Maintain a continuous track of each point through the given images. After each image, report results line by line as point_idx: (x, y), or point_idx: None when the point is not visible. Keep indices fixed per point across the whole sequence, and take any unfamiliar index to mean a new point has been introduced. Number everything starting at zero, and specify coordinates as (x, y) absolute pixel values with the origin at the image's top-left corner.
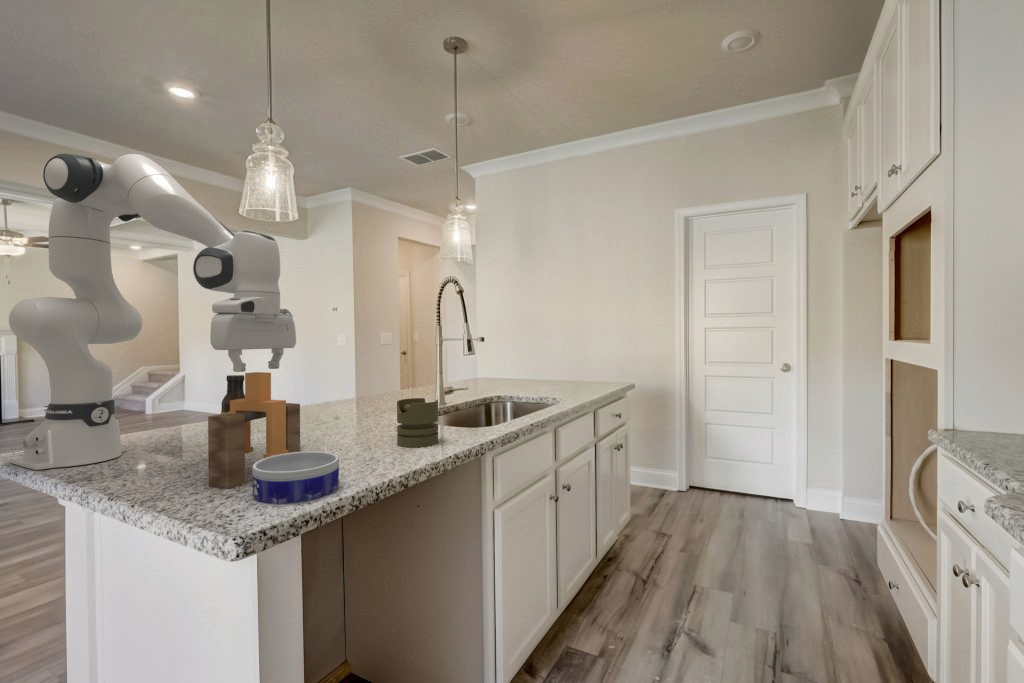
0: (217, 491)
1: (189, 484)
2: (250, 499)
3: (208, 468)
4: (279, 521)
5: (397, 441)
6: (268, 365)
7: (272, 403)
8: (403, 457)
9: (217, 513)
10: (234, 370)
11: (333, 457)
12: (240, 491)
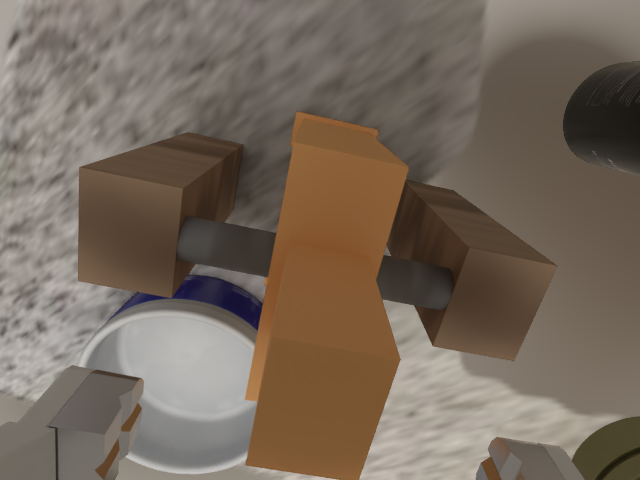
0: None
1: (198, 56)
2: (125, 292)
3: (169, 138)
4: None
5: (622, 430)
6: (516, 456)
7: (247, 397)
8: (472, 465)
9: (37, 277)
10: (70, 376)
11: (248, 446)
12: None
